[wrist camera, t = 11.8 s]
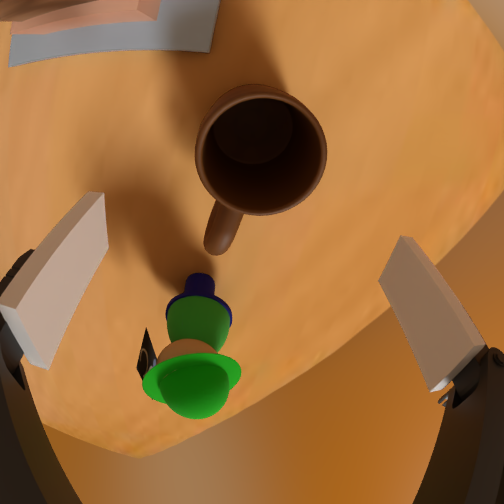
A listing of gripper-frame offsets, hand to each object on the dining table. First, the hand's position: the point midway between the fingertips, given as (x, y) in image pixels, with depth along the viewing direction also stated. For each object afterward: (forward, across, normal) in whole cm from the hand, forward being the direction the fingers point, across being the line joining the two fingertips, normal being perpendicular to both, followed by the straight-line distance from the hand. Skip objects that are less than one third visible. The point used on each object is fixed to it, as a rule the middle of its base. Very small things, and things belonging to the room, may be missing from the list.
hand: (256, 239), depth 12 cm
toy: (+15, -2, -17) cm, 23 cm away
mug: (+15, 0, 0) cm, 15 cm away
